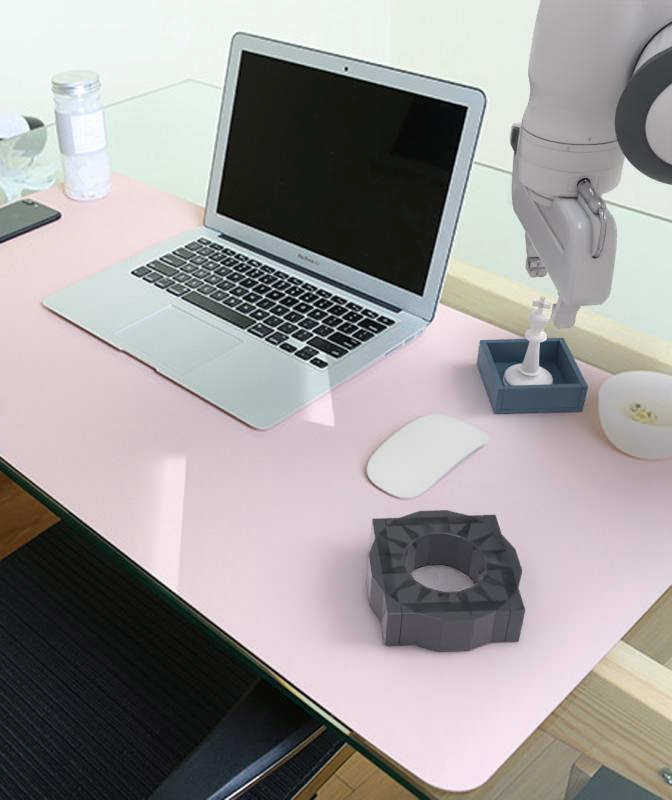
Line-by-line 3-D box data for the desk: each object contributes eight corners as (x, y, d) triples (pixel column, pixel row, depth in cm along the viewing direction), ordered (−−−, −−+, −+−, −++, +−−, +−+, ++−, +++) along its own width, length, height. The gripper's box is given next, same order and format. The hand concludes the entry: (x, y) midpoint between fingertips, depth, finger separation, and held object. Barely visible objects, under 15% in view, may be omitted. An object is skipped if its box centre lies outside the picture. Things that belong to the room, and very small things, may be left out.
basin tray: (558, 361, 100) (563, 337, 98) (582, 411, 93) (588, 386, 91) (476, 363, 100) (479, 339, 98) (494, 414, 93) (498, 389, 91)
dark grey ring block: (497, 538, 79) (502, 507, 77) (530, 648, 70) (537, 617, 68) (360, 543, 79) (362, 512, 77) (376, 654, 70) (379, 622, 68)
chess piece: (549, 401, 94) (566, 314, 88) (498, 391, 95) (512, 305, 89) (555, 373, 97) (572, 288, 92) (506, 365, 99) (520, 280, 93)
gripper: (648, 208, 74) (616, 357, 82) (573, 116, 90) (553, 247, 98) (567, 212, 74) (543, 360, 82) (506, 119, 90) (492, 250, 98)
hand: (548, 298), depth 90 cm, fingers open, 8 cm apart
